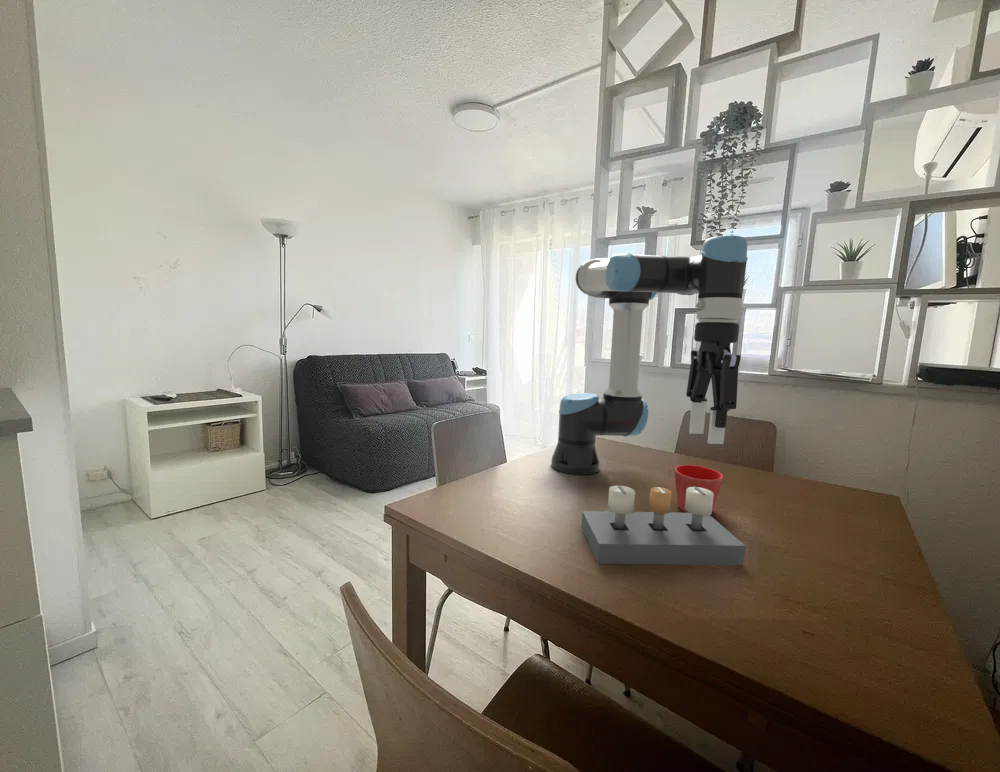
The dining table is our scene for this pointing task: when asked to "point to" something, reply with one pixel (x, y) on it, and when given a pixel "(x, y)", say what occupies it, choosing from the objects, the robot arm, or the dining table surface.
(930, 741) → the dining table surface
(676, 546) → the control box
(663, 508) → the pot knob
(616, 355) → the robot arm
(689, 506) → the knob
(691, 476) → the flower pot
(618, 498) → the knob
